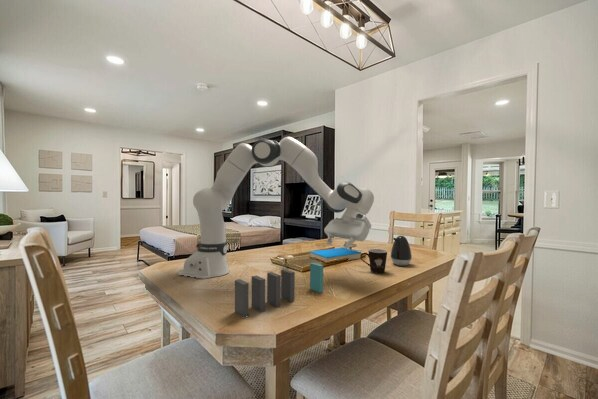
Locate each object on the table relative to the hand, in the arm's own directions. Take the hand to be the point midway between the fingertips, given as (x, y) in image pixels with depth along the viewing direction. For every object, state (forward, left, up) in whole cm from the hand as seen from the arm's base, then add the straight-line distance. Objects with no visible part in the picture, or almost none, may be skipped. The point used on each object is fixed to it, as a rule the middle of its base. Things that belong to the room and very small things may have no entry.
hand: (336, 245), depth 111 cm
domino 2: (-24, -29, -16) cm, 41 cm away
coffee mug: (+17, +22, -16) cm, 32 cm away
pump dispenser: (+32, +37, -16) cm, 52 cm away
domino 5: (-7, -9, -16) cm, 20 cm away
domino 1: (-28, -33, -16) cm, 46 cm away
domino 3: (-20, -24, -16) cm, 35 cm away
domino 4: (-16, -19, -16) cm, 30 cm away
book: (-2, +46, -17) cm, 49 cm away
